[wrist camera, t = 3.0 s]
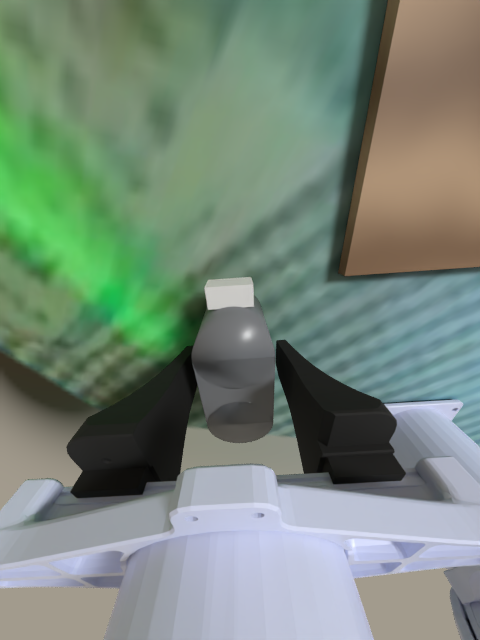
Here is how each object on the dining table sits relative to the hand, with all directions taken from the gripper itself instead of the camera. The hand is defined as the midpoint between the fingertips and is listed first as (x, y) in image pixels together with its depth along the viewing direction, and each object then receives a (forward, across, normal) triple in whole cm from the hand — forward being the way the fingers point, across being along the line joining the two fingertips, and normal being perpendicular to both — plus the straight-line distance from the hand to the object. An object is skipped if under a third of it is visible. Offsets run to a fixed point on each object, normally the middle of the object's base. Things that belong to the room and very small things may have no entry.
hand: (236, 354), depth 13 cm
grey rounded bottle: (+1, 0, 0) cm, 1 cm away
